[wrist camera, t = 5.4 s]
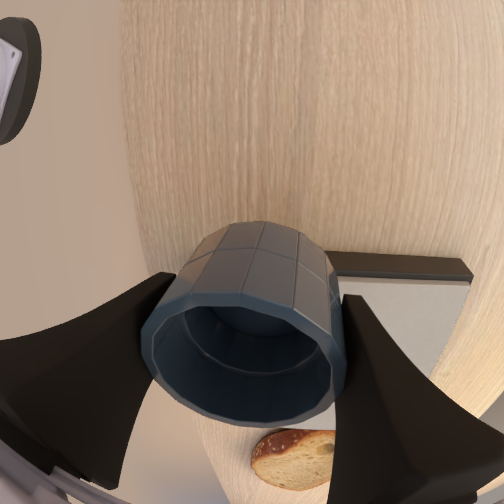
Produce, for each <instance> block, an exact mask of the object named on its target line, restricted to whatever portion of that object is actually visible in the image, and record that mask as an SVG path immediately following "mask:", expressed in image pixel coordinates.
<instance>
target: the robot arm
mask: <svg viewBox="0 0 504 504" xmlns="http://www.w3.org/2000/svg"><path fill="white" fill-rule="evenodd" d="M21 58H22V52H21V51H20V50H19V49H17V48H16V47H14V46H13V45H11V44H9V43H8V42H6V41H5V40H3V39H1V38H0V122H1V118H2V115H3V111H4V107H5V104H6V101H7V97H8V94H9V91H10V88H11V85H12V82H13V79H14V76H15V74H16V71H17V68H18V66H19V63H20V61H21ZM175 278H176V274H172V273H165V272H159V273H157V274H155V275H153V276H152V277H150V278H148V279H146V280H144V281H143V282H141V283H140V284H138V285H136V286H135V287H133V288H131V289H129V290H128V291H126V292H124V293H122V294H121V295H119V296H118V297H116V298H114V299H112V300H110V301H108V302H106V303H105V304H103V305H101V306H99V307H97V308H96V309H94V310H92V311H90V312H88V313H86V314H83V315H81V316H79V317H77V318H74V319H72V320H70V321H68V322H65V323H63V324H60V325H57V326H54V327H51V328H48V329H45V330H42V331H40V332H36V333H33V334H29V335H25V336H21V337H16V338H12V339H6V340H0V504H71V503H70V502H69V501H68V498H67V495H66V493H67V494H69V495H71V496H72V497H74V498H76V499H77V500H79V501H81V502H83V503H85V504H130V503H128V502H125V501H123V500H121V499H118V498H116V497H114V496H112V495H109V494H107V493H105V492H103V491H101V490H99V489H97V488H95V487H93V486H91V485H89V484H87V483H85V482H83V481H81V480H80V478H82V479H84V480H86V481H88V482H93V483H95V484H97V485H99V486H101V487H103V488H105V489H107V490H113V489H116V488H117V487H118V484H119V479H120V474H121V469H122V465H123V460H124V457H125V453H126V449H127V446H128V442H129V438H130V435H131V432H132V429H133V426H134V423H135V420H136V417H137V414H138V412H139V409H140V407H141V404H142V401H143V399H144V396H145V394H146V392H147V390H148V388H149V386H150V384H151V382H152V380H153V377H152V375H151V373H150V371H149V369H148V367H147V366H146V364H145V362H144V360H143V358H142V355H141V328H142V326H143V325H144V323H145V322H146V320H147V319H148V317H149V316H150V314H151V313H152V311H153V310H154V308H155V307H156V305H157V304H158V303H159V301H160V300H161V298H162V297H163V295H164V294H165V292H166V291H167V290H168V288H169V287H170V285H171V284H172V283H173V281H174V280H175ZM341 307H342V315H343V325H344V334H345V345H346V357H347V369H346V378H345V386H344V390H343V392H342V393H341V394H340V395H339V396H338V398H337V399H336V400H335V417H336V431H335V445H334V456H333V465H332V474H331V481H330V487H329V494H328V500H327V504H473V503H475V502H477V490H479V489H480V488H482V487H483V486H485V485H486V484H488V483H489V482H491V481H492V480H494V479H495V478H497V477H498V476H499V475H500V474H502V473H503V472H504V434H503V433H501V432H499V431H498V430H496V429H494V428H492V427H491V426H489V425H487V424H486V423H484V422H482V421H481V420H479V419H477V418H476V417H475V416H473V415H472V414H470V413H469V412H468V411H466V410H465V409H463V408H462V407H461V406H459V405H458V404H457V403H455V402H454V401H453V400H452V399H450V398H449V397H448V396H447V395H446V394H445V393H443V392H442V391H441V390H440V389H439V388H438V387H437V386H435V385H434V384H433V383H432V382H431V381H430V380H429V379H428V378H427V377H426V376H425V375H424V374H423V373H422V372H421V371H420V370H419V369H418V368H417V367H416V366H415V365H414V364H413V362H412V361H411V360H410V359H409V358H408V357H407V356H406V354H405V353H404V352H403V351H402V350H401V348H400V347H399V346H398V345H397V344H396V342H395V341H394V340H393V338H392V337H391V336H390V335H389V333H388V332H387V331H386V329H385V328H384V327H383V325H382V324H381V322H380V321H379V320H378V318H377V317H376V315H375V314H374V312H373V311H372V310H371V308H370V307H369V305H368V304H367V302H366V301H365V300H364V298H363V297H362V296H361V295H352V294H344V295H343V299H342V304H341ZM494 504H504V499H502V500H500V501H498V502H496V503H494Z"/></svg>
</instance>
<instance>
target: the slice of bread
mask: <svg viewBox="0 0 504 504" xmlns="http://www.w3.org/2000/svg"><path fill="white" fill-rule="evenodd" d="M335 431H336V430H313V429H295V428H293V429H290V430H286V431H281V432H277V433H274V434H272V435H269V436H267V437H265V438H264V439H262V441H261V442H260V443H258V445H257V446H256V447H255V449H254V450H253V452H252V456H251V468H252V469H254V470H255V474H256V475H257V476H258V477H259V478H260V479H262V480H264V481H265V482H266V483H269V484H271V485H273V486H277V487H280V488H284V489H288V490H294V491H304V490H307V489H312V488H313V487H317V486H319V485H322V484H323V483H326V482H327V481H329V480H331V474H332V465H333V456H334V445H335Z"/></svg>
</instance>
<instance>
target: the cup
mask: <svg viewBox="0 0 504 504" xmlns="http://www.w3.org/2000/svg"><path fill="white" fill-rule="evenodd" d="M141 355H142V358H143V360H144V362H145V364H146V366H147V367H148V369H149V371H150V373H151V375H152V377H153V378H154V380H155V381H156V382H157V383H158V384H159V385H160V386H161V387H162V388H163V389H164V390H165V391H166V392H167V393H168V394H170V395H171V396H172V397H173V398H174V399H175V400H177V401H178V402H179V403H181V404H183V405H185V406H186V407H188V408H190V409H192V410H193V411H195V412H197V413H199V414H201V415H203V416H205V417H208V418H211V419H214V420H217V421H221V422H224V423H228V424H231V425H235V426H242V427H254V428H276V427H282V426H288V425H294V424H299V423H302V422H304V421H306V420H308V419H311V418H313V417H315V416H317V415H319V414H321V413H323V412H325V411H326V410H327V409H328V408H329V407H330V406H331V405H332V404H333V402H334V401H335V400H336V399H337V398H338V396H339V395H340V394H341V393H342V392H343V390H344V386H345V378H346V369H347V357H346V345H345V334H344V325H343V315H342V307H341V298H340V290H339V283H338V278H337V275H336V273H335V271H334V269H333V267H332V265H331V263H330V261H329V259H328V257H327V255H326V253H324V251H323V250H322V249H321V248H320V247H319V246H317V245H316V244H315V243H314V242H312V241H311V240H310V239H309V238H307V237H306V236H305V235H304V234H303V233H301V232H299V231H297V230H294V229H291V228H288V227H285V226H281V225H278V224H275V223H272V222H268V221H267V222H265V221H255V222H242V223H234V224H230V225H228V226H226V227H224V228H222V229H220V230H218V231H216V232H214V233H212V234H210V235H209V236H207V237H206V238H204V240H203V241H202V242H201V244H200V245H199V246H198V248H197V249H196V250H195V252H194V253H193V255H192V256H191V257H190V259H189V260H188V261H187V263H186V264H185V266H184V267H183V268H182V270H181V271H180V273H179V274H178V275H177V277H176V278H175V280H174V281H173V283H172V284H171V285H170V287H169V288H168V290H167V291H166V292H165V294H164V295H163V297H162V298H161V300H160V301H159V303H158V304H157V305H156V307H155V308H154V310H153V311H152V313H151V314H150V316H149V317H148V319H147V320H146V322H145V323H144V325H143V326H142V328H141Z"/></svg>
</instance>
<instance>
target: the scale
mask: <svg viewBox="0 0 504 504" xmlns="http://www.w3.org/2000/svg"><path fill="white" fill-rule="evenodd" d="M324 253H326V255H327V257H328V259H329V261H330V263H331V265H332V267H333V269H334V271H335V273H336V275H337V278H338V283H339V290H340V298H341V304H342V299H343V295H344V294H352V295H361V296H362V297H363V298H364V300H365V301H366V302H367V304H368V305H369V307H370V308H371V310H372V311H373V312H374V314H375V315H376V317H377V318H378V320H379V321H380V322H381V324H382V325H383V327H384V328H385V329H386V331H387V332H388V333H389V335H390V336H391V337H392V338H393V340H394V341H395V342H396V344H397V345H398V346H399V347H400V348H401V350H402V351H403V352H404V353H405V354H406V356H407V357H408V358H409V359H410V360H411V361H412V362H413V364H414V365H415V366H416V367H417V368H418V369H419V370H420V371H421V372H422V373H423V374H424V375H425V376H426V377H427V378H428V379H429V377H430V375H431V374H432V372H433V370H434V368H435V366H436V364H437V362H438V361H439V359H440V357H441V355H442V353H443V351H444V349H445V347H446V345H447V343H448V341H449V338H450V336H451V334H452V332H453V330H454V327H455V325H456V323H457V321H458V318H459V316H460V314H461V311H462V309H463V306H464V304H465V301H466V299H467V296H468V293H469V291H470V288H471V282H472V280H473V277H474V275H473V274H472V272H471V271H470V270H469V268H468V267H467V266H466V265H465V263H464V262H463V261H462V260H461V259H454V258H438V257H421V256H404V255H387V254H370V253H352V252H334V251H324ZM281 428H295V429H313V430H336V417H335V401H334V402H333V404H332V405H331V406H330V407H329V408H328V409H327V410H326V411H325V412H323V413H321V414H319V415H317V416H315V417H313V418H311V419H308V420H306V421H304V422H302V423H299V424H294V425H288V426H282V427H281Z"/></svg>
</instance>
